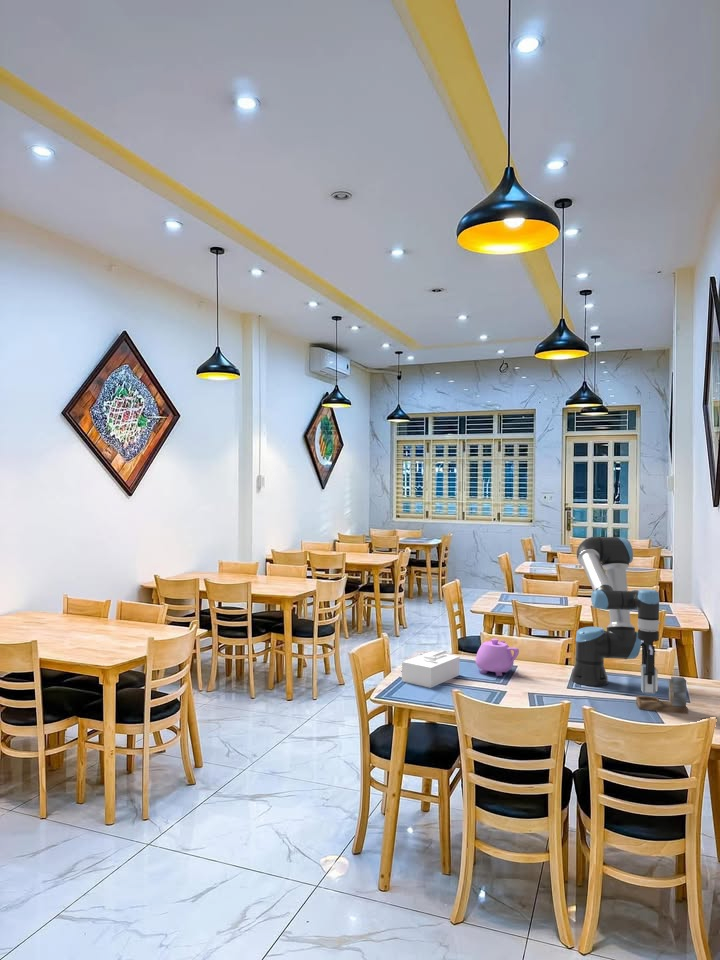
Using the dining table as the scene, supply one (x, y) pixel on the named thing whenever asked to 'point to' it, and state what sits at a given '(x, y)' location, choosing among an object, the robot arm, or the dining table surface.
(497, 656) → the teapot
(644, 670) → the light grey block
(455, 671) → the tissue box
